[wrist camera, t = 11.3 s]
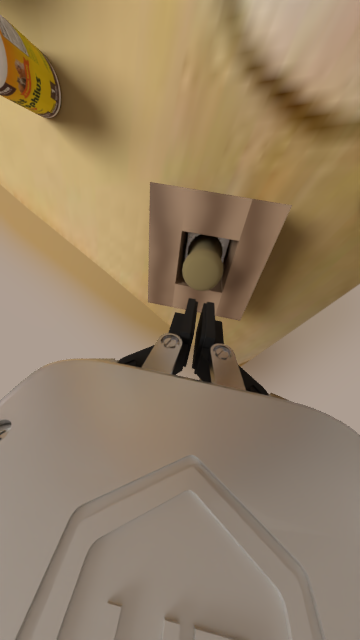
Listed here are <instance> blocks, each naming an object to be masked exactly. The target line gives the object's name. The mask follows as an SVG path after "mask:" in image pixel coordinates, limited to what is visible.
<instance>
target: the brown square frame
mask: <svg viewBox="0 0 360 640" xmlns="http://www.w3.org/2000/svg"><path fill="white" fill-rule="evenodd" d="M291 206H292V205H286V204H280V203H274V202H268V201H262V200H256V199H250V198H244V197H238V196H232V195H226V194H220V193H214V192H207V191H201V190H195V189H189V188H183V187H177V186H171V185H165V184H159V183H153V182H150V222H149V279H148V302H150V303H155V304H160V305H165V306H170V307H175V308H180V309H185V310H186V307H187V303H188V299H189V298H192V299H196V301H197V302H198V307H197V312H200V313H201V312H202V308H203V304H204V303H207V302H212V303H214V305H215V316H220V317H225V318H230V319H235V320H241V318H242V315H243V313H244V311H245V309H246V307H247V304H248V302H249V300H250V298H251V295H252V293H253V291H254V289H255V286H256V284H257V282H258V280H259V278H260V275H261V273H262V271H263V269H264V266H265V264H266V262H267V260H268V258H269V255H270V253H271V251H272V249H273V246H274V244H275V242H276V240H277V238H278V235H279V233H280V231H281V229H282V226H283V224H284V222H285V220H286V218H287V215H288V213H289V211H290V209H291ZM188 232H191V233H197V234H203V235H208V236H214V237H219V238H225V239H230V242H229V246H228V249H227V252H226V256H225V259H224V263H223V275H222V278H221V280H220V281H219V283H218V284H217V285H216V286H215V287H213V288H212V289H209V290H207V291H199V290H195V289H193V288H191V287H190V286H189V285H188V284H187V283H186V282H185V280H184V278H183V273H182V268H183V261H184V254H185V247H186V240H187V233H188Z"/></svg>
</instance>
